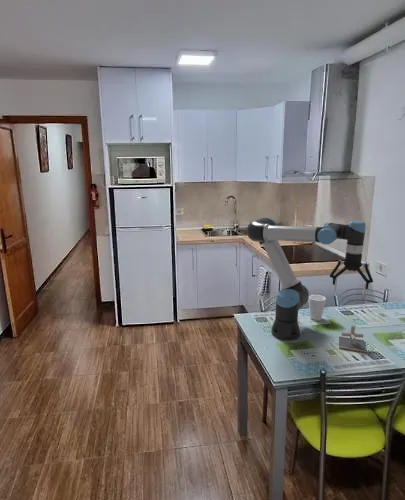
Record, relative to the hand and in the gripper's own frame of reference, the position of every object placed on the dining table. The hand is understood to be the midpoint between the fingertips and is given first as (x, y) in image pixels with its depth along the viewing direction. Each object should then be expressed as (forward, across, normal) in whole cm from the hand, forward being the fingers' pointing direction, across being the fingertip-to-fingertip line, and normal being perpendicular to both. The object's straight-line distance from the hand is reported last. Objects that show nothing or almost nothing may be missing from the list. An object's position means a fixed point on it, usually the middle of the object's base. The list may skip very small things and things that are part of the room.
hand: (349, 292), depth 180 cm
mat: (+25, +4, -8) cm, 26 cm away
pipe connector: (+24, +4, -8) cm, 26 cm away
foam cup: (+25, -16, +18) cm, 35 cm away
